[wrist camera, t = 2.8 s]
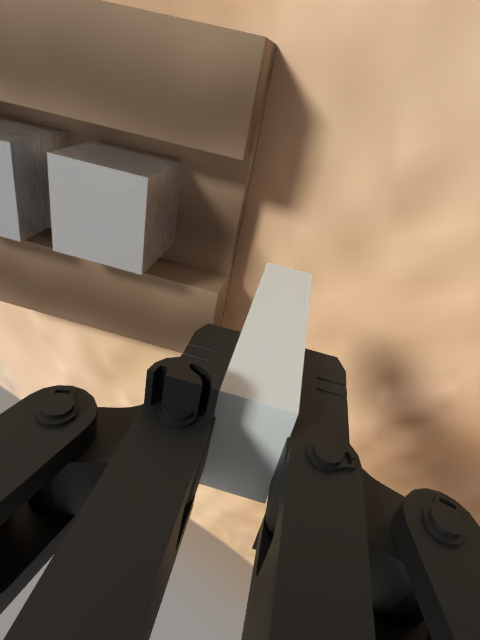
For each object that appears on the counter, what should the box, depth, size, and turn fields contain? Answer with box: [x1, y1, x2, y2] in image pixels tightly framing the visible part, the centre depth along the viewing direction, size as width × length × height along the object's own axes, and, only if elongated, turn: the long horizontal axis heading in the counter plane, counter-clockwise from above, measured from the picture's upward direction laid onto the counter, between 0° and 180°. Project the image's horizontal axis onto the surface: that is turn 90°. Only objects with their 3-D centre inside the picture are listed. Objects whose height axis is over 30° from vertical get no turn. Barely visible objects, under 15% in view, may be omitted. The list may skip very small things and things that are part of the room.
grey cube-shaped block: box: [0, 115, 70, 242], centre depth 18 cm, size 4×4×4 cm
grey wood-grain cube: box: [47, 140, 183, 275], centre depth 18 cm, size 4×4×4 cm
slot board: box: [0, 0, 277, 353], centre depth 19 cm, size 14×14×3 cm
